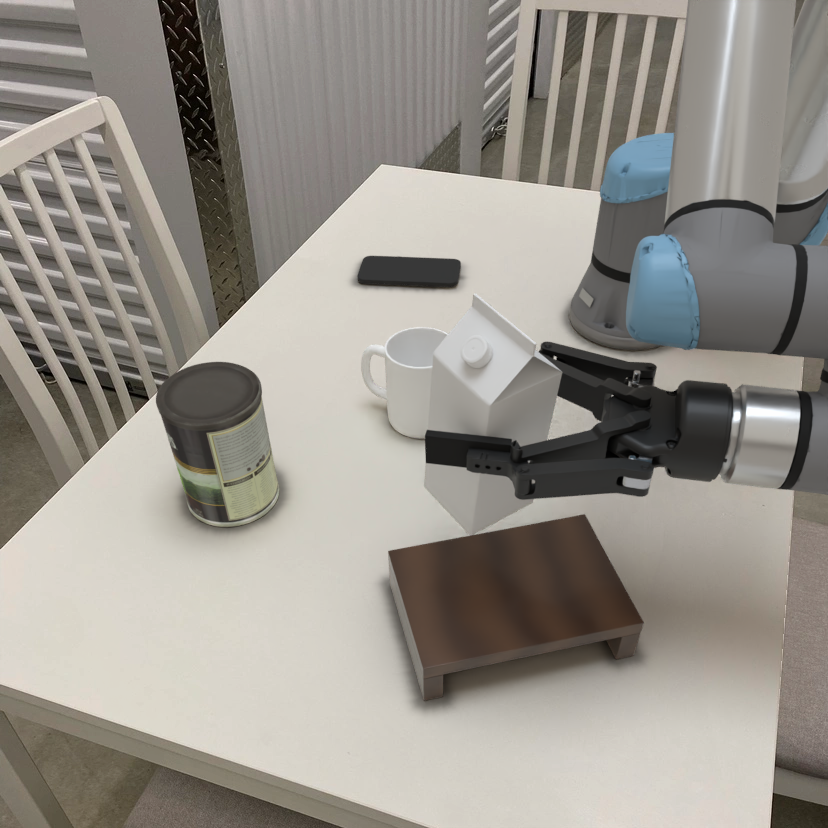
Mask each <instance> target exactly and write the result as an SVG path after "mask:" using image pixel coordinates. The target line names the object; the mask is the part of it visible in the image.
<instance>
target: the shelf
mask: <svg viewBox="0 0 828 828" xmlns="http://www.w3.org/2000/svg"><path fill="white" fill-rule="evenodd" d="M387 557H388V575H389V586H390V590H391V593H392V596H393V600H394V603H395V607H396V610H397V613H398V617H399V621H400V624H401V628H402V631H403V634H404V638H405V642H406V645H407V648H408V651H409V654H410V660H411V662H412V666H413V669H414V673H415V676H416V679H417V683H418V687H419V690H420V693H421V697H422V700H423V701H429V700H433V699H438V698H442V697H444V675H447V674H452V673H457V672H461V671H467V670H471V669H475V668H481V667H485V666H490V665H495V664H500V663H503V662H504V663H505V662H508V661H513V660H514V661H515V660H519V659H524V658H527V657H532V656H538V655H541V654H546V653H552V652H556V651H561V650H565V649H566V650H567V649H570V648H575V647H580V646H584V645H590V644H594V643H598V642H603V641H606V643H607V645H608V647H609V649H610V650H611V653H612V655H613V657H614V659H615V660H621V659H624V658H629V657H634V656H635V653H636V650H637V646H638V643H639V640H640V637H641V633H642V631H643V627H644V624H645V623H644V620H643V618H642V616H641V615H640V613H639V611H638V609H637V607H636V605H635V604H634V601H633V600H632V598H631V596H630V594H629V593H628V590H627V589H626V587H625V585H624V583H623V581H622V580H621V578H620V576H619V574H618V572H617V571H616V569H615V567H614V565H613V563H612V561H611V560H610V558H609V556H608V554H607V552H606V550H605V549H604V547H603V545H602V542H601V541H600V539H599V538H598V536H597V533H596V532H595V530H594V528H593V526H592V525H591V523H590V520H589V519H588V517H587V515H586V513H583V514H579V515H578V514H577V515H572V516H568V517H562V518H556V519H551V520H546V521H540V522H536V523H535V522H534V523H530V524H525V525H519V526H514V527H508V528H504V529H503V528H502V529H498V530H492V531H487V532H481V533H475V534H473V535H465V536H459V537H455V538H454V537H453V538H448V539H444V540H439V541H432V542H428V543H422V544H417V545H412V546H406V547H402V548H401V547H400V548H396V549H391V550H387Z"/></svg>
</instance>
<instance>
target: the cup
mask: <svg viewBox="0 0 828 828" xmlns="http://www.w3.org/2000/svg"><path fill="white" fill-rule="evenodd" d="M448 334H449V333H448V332H446V331H444V330H441V329H439V328H435V327H430V326H429V327H428V326H415V327H408V328H405V329H404V328H403V329H402V330H399V331H396V332H394V333H393V334H392V335H390V336H389V337H388V338H387V340H386V341H385V342H384V343H385V344H384V345H382V344H376V343H375V344H373V343H372V344H370V345H368V346H366V347H365V349H364V350H363V352H362V355H361V360H360V371H361V376H362V379H363V382H364V384H365V386H366V388H367V389H368V391H370V392H371V393H372V394H373V395H375V396H376V397H378V398H381V399H383V400H386V408H387V418H388V422H389V423H390V425H391V427H392V428H393V429H394V430H395V431H396V432H398V433H399V434H400V435H403V436H404V437H407V438H412V439H425V434H426V431H427V430H428V420H429V406H430V391H431V377H432V363H433V352H434V351H435V350H436V348H437V347H438V346H439V345H440V344H441V342H442V341H443V340H444V339H445V338H446V336H447V335H448ZM373 355H375V356H379V357H380V358H384V370H385V371H384V372H385V387H383V386H380V385H378V384H377V383H376V382H375V381H374V379H373V376H372V374H371V360H372V356H373Z"/></svg>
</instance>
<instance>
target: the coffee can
mask: <svg viewBox="0 0 828 828" xmlns="http://www.w3.org/2000/svg"><path fill="white" fill-rule="evenodd" d="M262 388H263V387H262V383H261V381H260V378H259V377H258V375H257V374H256V373H255V372H253V370H251V369H249V368H248V367H246V366H244V365H241V364H239V363H234V362H228V361H211V362H210V361H209V362H202V363H201V362H200V363H197V364H193V365H190V366H187V367H185V368H183V369H180V370H178V371H176V372H175V373H173V374H172V375H170V376H169V377H168V378H166V379H165V380H164V381H163V382H162V383H161V385H160V386H159V388H158V389H157V392H156V395H155V403H156V404H155V405H156V408H157V410H158V413H159V414H160V416H161V420H162V423H163V427H164V429H165V433H166V437H167V440H168V443H169V446H170V449H171V453H172V455H173V459H174V462H175V465H176V468H177V472H178V475H179V478H180V482H181V485H182V488H183V489H182V490H183V491H184V496H185V498H186V503H187V504H186V505H187V507H188V510H189V511H190V513H191V514H192V515H193V517H195V519H197V521H198V520H199V521H201V522H202V523H203V524H206V525H209V526H213V527H218V528H219V527H220V528H232V527H239V526H244V525H248V524H250V523H253V522H255V521H257V520H259V519H260V518H262V517H263V516H265V515H266V514H268V513H269V512H270V511H271V509H272V508H273V507H274V506H275V505H276V503H277V501H278V499H279V496H280V490H281V489H280V485H279V484H280V483H279V481H278V477H277V472H276V466H275V461H274V456H273V451H272V445H271V438H270V433H269V428H268V423H267V418H266V413H265V412H266V411H265V407H264V401H263V396H262V395H263V389H262Z"/></svg>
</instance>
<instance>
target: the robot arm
mask: <svg viewBox="0 0 828 828" xmlns="http://www.w3.org/2000/svg"><path fill="white" fill-rule="evenodd" d="M796 6H797V0H687V6H686V17H685V27H684V35H683V43H682V44H683V46H682V53H681V54H682V55H681V64H680V74H679V83H678V93H677V102H676V111H675V121H674V130H673V132H662V133H661V132H659V133H653V134H647V135H643V136H639V137H635V138H633V139H630V140H629V141H627V142H625V143H622V144H621V145H619V146H618V147H617V148H615V150H614V151H613V152H612V153H611V155H610V156H609V158H608V160H607V162H606V166H605V171H604V176H603V182H602V184H601V186H600V189H599V196H600V197H599V198H600V202H599V209H598V214H597V222H596V228H595V233H594V239H593V245H592V253H591V257H590V262H589V265H588V267H587V269H586V271H585V273H584V274H583V277H582V278H581V280H580V283H579V285H578V286H577V288H576V290H575V292H574V294H573V296H572V298H571V301H570V307H569V314H568V315H569V321H570V324H571V325H572V327H573V329H574V330H575V331H576V332H577V333H578V334H580V335H581V336H582V337H584V338H585V339H587V340H588V341H591V342H592V343H595V344H598V345H601V346H604V347H608V348H611V349H616V350H623V351H624V350H626V351H642V350H643V351H644V350H649V349H650V350H651V349H655V348H658V347H661V346H664V347H671V348H677V349H682V350H683V351H691V350H708V351H721V352H722V351H725V352H741V353H742V352H743V353H757V354H768V355H775V356H786V357H795V358H796V357H798V358H810V359H822V360H823V367H822V369H821V373H820V377H819V380H820V385H819V388H818V390H817V391H815V390H814V391H811V390H810V391H806V390H797V389H791V388H790V389H789V388H780V387H771V386H762V385H761V386H759V385H753V384H743V383H742V384H740V385H739V386H738V387H736V389H734V391H732V388H731V386H728V384H727V383H725V382H724V383H723V382H714V381H701V380H690V379H688V380H687V379H686V380H683V381H682V382H681V383H680V384H679V385H678V387H677V389H675V390H665V389H663V388H661V387H658V386H655V379H656V374H657V369H658V366H657V365H656V364H655V363H652V362H646V361H645V362H643V361H627V360H623V359H620V358H616V357H612V356H608V355H604V354H601V353H596V352H592V351H588V350H584V349H580V348H577V347H571V346H570V345H569V346H568V345H565V344H561V343H557V342H554V341H553V342H552V341H542V342H541V343H540V349H539V350H537V351H538V352H539V353H540V354H541V355H543V356H544V357H545V358H546V359H547V360H549V361H550V362H551V363H552V364H554V365H555V366H556V367H557V368H558V369H560V370H561V371H562V372H563V373H562V376H561V380H560V385H559V389H558V394H557V397H559V398H561V399H563V400H566V401H567V402H569V403H572V404H574V405H576V406H578V407H581V408H583V409H584V410H587V411H589V412H590V413H592V415H593V417H594V419H596V420H597V421H599V422H597V423H596V424H594V426H592V428H591V429H588V430H583V431H580V432H575V433H571V434H567V435H563V436H559V437H554V438H551V439H547V440H546V441H542V442H538V443H534V444H529V445H525V446H521V447H520V445H519V444H518V442H517V440H515V441H513V442H512V439H508V438H499V437H490V436H480V435H471V434H462V433H453V432H443V431H434V430H427V431H426V434H425V438H424V449H425V451H424V453H425V454H424V455H425V464H426V463H429V464H438V465H447V466H455V467H464V468H467V470H468V471H470V472H473V473H481V474H490V475H499V476H506V477H508V478H509V479H510V480H511V481H512V483H513V486H514V489H515V497H516V498H518V499H521V500H527V499H534V500H538V499H539V500H540V499H552V498H553V499H554V498H566V497H568V498H569V497H580V496H581V497H582V496H593V495H607V494H620V495H625V496H632V497H638V498H643V497H647V495H648V494H649V491H650V487H651V483H652V479H653V475H654V470H655V469H656V468H664V470H665V473H666V475H667V476H668V477H670V478H672V479H679V480H688V481H696V482H705V483H711V482H712V481H713V480H714V481H715V480H716V479H717V478H718V476H720V478H721V479H720V480H722V481H723V483H725V484H727V485H728V484H729V485H738V486H746V487H754V488H763V489H764V488H765V489H774V490H786V491H795V492H803V493H809V494H817V495H826V496H828V245H821V244H822V242H823V241H824V239H825V238H826V236H827V234H828V0H803V3H802V6H801V9H800V11H799V13H798V17H797V19H796V21H795V17H796ZM555 358H556V359H555ZM529 460H530V463H528V461H529ZM532 480H535V483H532Z"/></svg>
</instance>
